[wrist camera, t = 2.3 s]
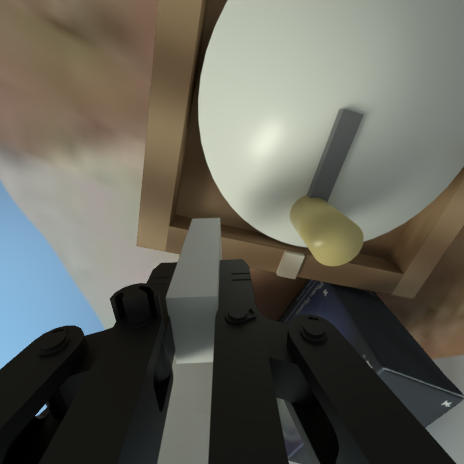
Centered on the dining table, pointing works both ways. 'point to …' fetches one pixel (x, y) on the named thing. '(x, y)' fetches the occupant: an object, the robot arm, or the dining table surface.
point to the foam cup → (188, 415)
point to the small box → (372, 354)
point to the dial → (333, 115)
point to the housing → (216, 206)
